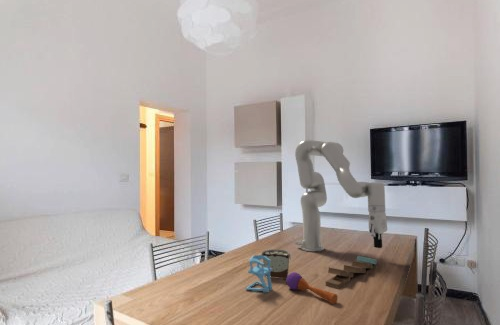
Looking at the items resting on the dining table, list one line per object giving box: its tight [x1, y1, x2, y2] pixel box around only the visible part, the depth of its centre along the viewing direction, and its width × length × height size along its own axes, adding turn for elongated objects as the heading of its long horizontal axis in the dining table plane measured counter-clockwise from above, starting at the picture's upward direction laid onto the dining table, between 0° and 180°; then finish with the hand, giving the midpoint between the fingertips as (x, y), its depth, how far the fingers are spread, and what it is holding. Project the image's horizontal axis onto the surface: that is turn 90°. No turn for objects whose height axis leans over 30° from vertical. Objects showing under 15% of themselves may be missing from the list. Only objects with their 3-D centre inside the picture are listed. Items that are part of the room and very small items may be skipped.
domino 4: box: [351, 260, 373, 269], centre depth 126 cm, size 2×5×10 cm
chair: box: [245, 254, 273, 293], centre depth 109 cm, size 8×8×12 cm
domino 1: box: [327, 267, 355, 278], centre depth 115 cm, size 2×5×10 cm
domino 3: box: [343, 264, 367, 274], centre depth 121 cm, size 2×5×10 cm
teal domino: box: [356, 255, 378, 265], centre depth 131 cm, size 2×5×10 cm
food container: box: [261, 249, 292, 280], centre depth 122 cm, size 12×6×10 cm, turn 71°
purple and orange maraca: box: [286, 271, 338, 305], centre depth 103 cm, size 6×6×20 cm
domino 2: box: [325, 274, 351, 290], centre depth 112 cm, size 2×5×10 cm
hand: (378, 247), depth 139 cm, fingers closed
